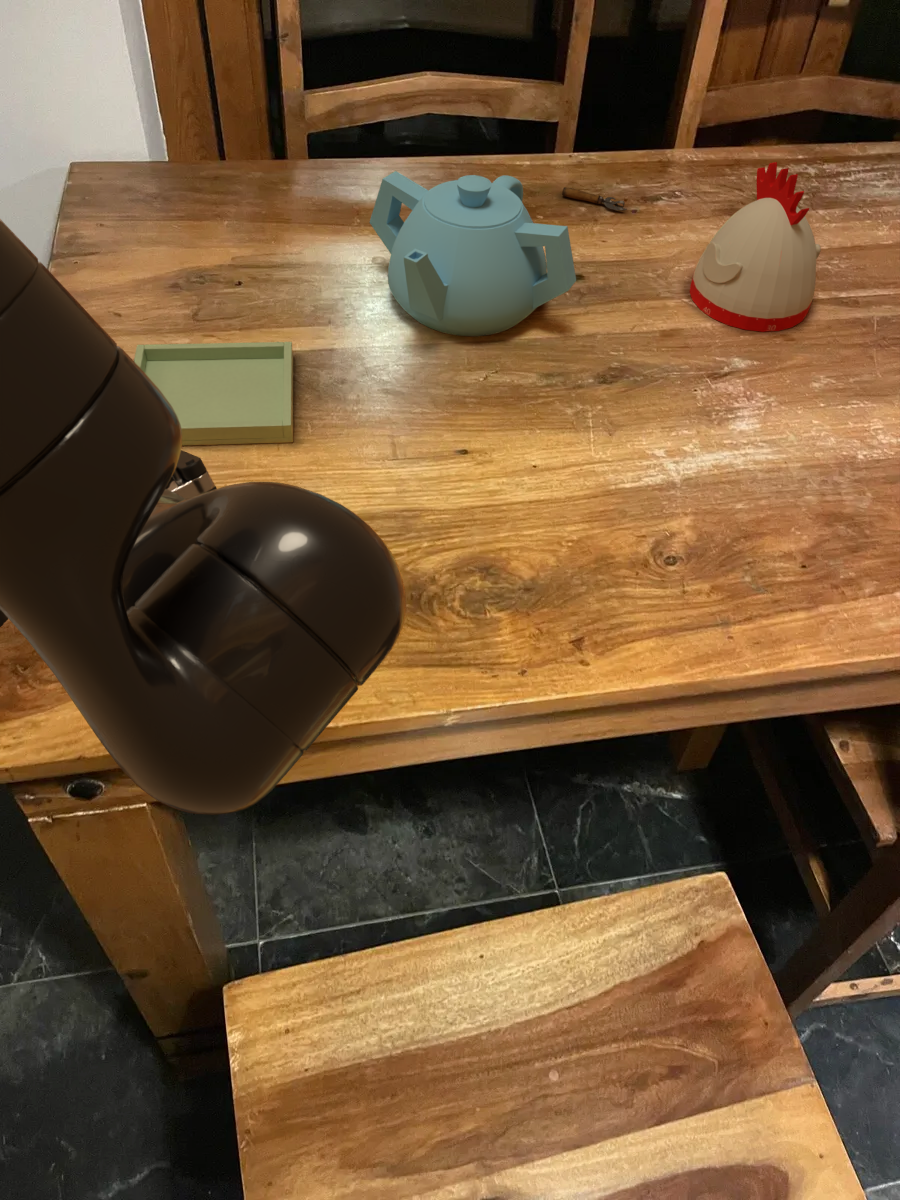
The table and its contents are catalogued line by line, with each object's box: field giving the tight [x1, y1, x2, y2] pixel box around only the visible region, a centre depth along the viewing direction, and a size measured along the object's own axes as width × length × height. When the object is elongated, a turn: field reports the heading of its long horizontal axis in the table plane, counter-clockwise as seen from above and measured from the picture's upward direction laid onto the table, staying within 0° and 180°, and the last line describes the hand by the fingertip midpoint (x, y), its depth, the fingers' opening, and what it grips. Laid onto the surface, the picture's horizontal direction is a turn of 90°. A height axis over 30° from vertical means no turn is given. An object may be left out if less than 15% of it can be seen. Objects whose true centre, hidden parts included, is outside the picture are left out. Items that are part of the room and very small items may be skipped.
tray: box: [133, 341, 294, 447], centre depth 92 cm, size 16×14×2 cm
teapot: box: [369, 170, 577, 337], centre depth 102 cm, size 19×19×14 cm
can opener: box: [561, 187, 628, 211], centre depth 123 cm, size 9×2×1 cm, turn 63°
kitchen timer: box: [688, 161, 822, 333], centre depth 105 cm, size 14×14×15 cm
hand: (63, 516), depth 57 cm, fingers open, 8 cm apart
